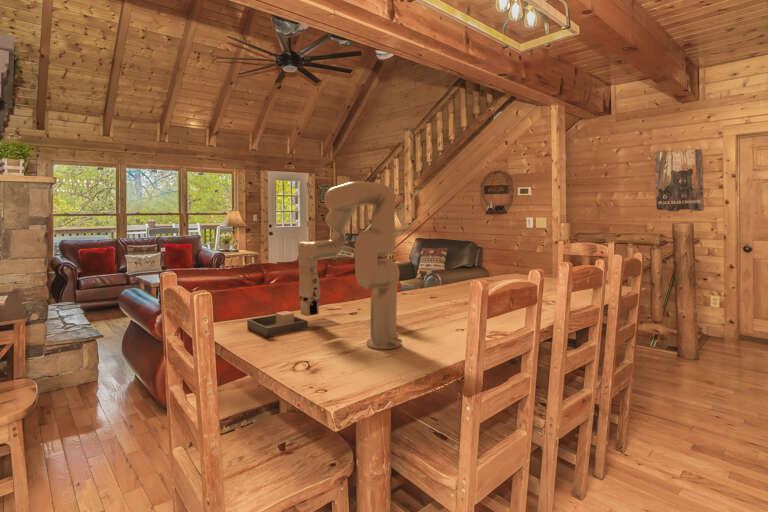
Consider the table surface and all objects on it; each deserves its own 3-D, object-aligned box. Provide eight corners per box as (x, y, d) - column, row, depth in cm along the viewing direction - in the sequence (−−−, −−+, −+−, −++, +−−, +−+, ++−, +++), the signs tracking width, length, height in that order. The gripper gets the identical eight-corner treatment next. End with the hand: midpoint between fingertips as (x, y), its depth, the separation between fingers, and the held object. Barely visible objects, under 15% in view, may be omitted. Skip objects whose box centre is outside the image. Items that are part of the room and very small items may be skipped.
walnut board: (342, 326, 191) (342, 324, 191) (313, 332, 182) (313, 329, 182) (323, 320, 201) (323, 317, 201) (296, 325, 192) (296, 323, 192)
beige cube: (318, 314, 189) (318, 301, 189) (307, 316, 186) (307, 303, 185) (311, 312, 193) (311, 299, 193) (300, 314, 190) (300, 301, 189)
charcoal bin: (307, 330, 184) (307, 320, 184) (267, 338, 173) (267, 328, 172) (286, 321, 198) (286, 313, 198) (247, 328, 186) (247, 319, 186)
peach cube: (294, 326, 187) (294, 313, 187) (282, 328, 184) (282, 315, 183) (287, 323, 191) (287, 310, 191) (276, 325, 188) (275, 312, 187)
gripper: (327, 271, 184) (328, 314, 185) (305, 268, 197) (306, 309, 198) (311, 273, 179) (312, 317, 181) (290, 270, 192) (291, 311, 193)
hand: (309, 312), depth 189 cm, fingers closed on beige cube, 5 cm apart
